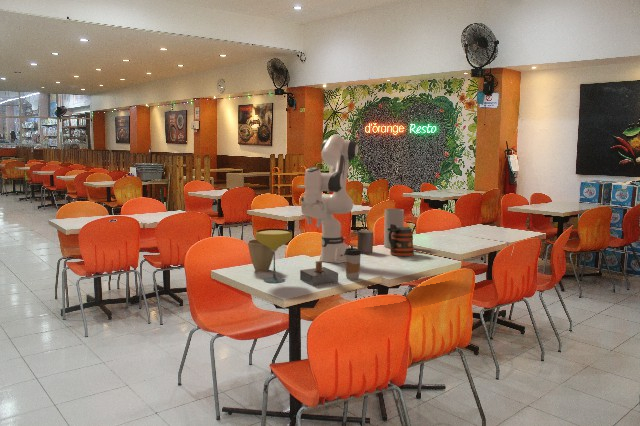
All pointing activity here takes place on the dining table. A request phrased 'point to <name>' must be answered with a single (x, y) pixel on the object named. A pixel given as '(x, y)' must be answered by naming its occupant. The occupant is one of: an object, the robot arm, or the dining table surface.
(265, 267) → the plant pot
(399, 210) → the cylinder vase
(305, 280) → the nut block
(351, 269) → the coffee cup
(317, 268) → the walnut pin
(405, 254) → the beer stein
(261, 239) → the cocktail glass
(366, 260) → the dining table surface
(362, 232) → the pillar candle
